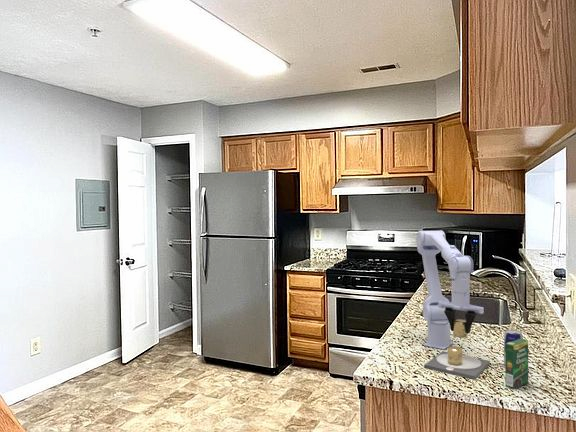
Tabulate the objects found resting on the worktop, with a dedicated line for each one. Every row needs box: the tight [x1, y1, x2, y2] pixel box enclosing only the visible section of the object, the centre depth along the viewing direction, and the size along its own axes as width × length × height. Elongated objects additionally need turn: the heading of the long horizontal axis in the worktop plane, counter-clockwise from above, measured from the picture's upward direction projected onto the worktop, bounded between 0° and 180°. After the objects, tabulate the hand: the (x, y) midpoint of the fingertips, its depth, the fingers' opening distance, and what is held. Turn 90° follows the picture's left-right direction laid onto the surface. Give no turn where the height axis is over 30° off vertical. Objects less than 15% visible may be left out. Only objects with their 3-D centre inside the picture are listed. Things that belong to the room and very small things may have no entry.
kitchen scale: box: [423, 350, 491, 380], centre depth 149 cm, size 17×16×2 cm
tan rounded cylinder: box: [452, 319, 468, 339], centre depth 152 cm, size 4×4×5 cm
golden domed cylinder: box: [447, 345, 463, 366], centre depth 147 cm, size 4×4×5 cm
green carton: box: [504, 338, 529, 390], centre depth 133 cm, size 8×3×13 cm, turn 122°
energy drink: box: [503, 329, 524, 369], centre depth 146 cm, size 5×5×12 cm
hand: (460, 331), depth 152 cm, fingers closed on tan rounded cylinder, 4 cm apart
